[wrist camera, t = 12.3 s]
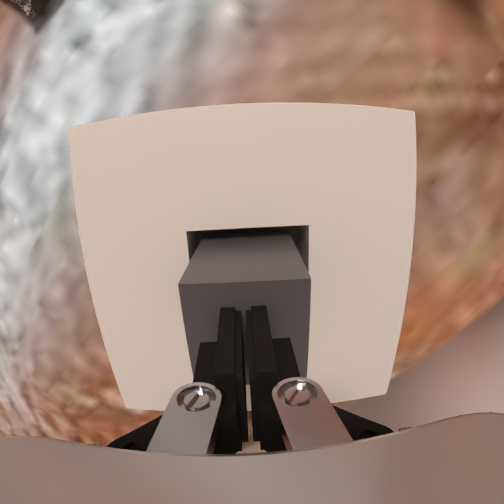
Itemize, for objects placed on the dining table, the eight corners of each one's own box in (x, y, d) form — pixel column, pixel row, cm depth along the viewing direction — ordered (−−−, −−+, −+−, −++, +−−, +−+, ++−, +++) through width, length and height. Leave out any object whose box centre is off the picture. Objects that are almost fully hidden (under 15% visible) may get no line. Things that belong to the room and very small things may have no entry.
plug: (286, 226, 19) (311, 278, 11) (286, 298, 20) (306, 381, 12) (206, 229, 19) (177, 284, 11) (213, 301, 20) (194, 385, 12)
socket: (387, 117, 17) (414, 111, 14) (370, 365, 23) (386, 393, 19) (96, 130, 17) (69, 127, 14) (138, 378, 22) (126, 408, 19)
